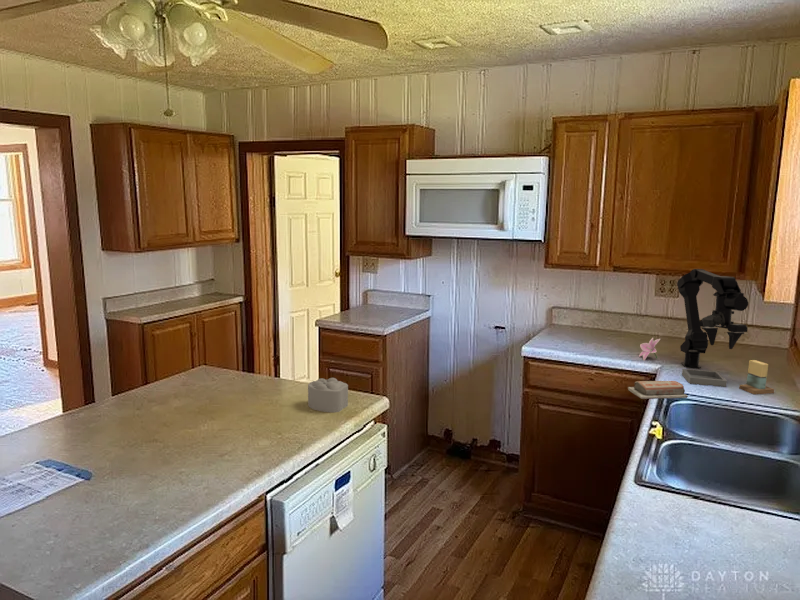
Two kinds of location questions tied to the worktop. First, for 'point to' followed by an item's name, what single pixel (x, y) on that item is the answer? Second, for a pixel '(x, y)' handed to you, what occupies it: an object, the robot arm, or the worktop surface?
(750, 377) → the ticket holder
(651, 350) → the lily
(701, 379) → the stub tray
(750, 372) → the stub
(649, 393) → the packaged product
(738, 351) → the worktop surface
